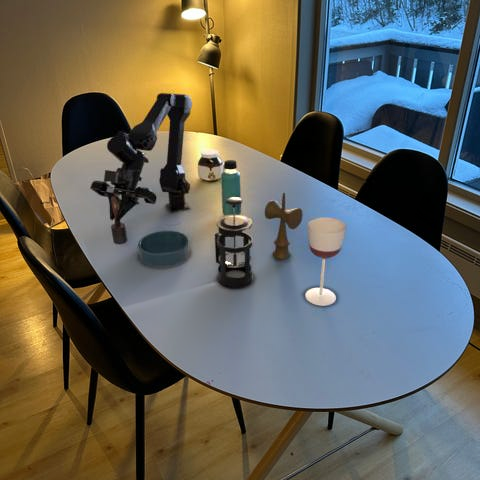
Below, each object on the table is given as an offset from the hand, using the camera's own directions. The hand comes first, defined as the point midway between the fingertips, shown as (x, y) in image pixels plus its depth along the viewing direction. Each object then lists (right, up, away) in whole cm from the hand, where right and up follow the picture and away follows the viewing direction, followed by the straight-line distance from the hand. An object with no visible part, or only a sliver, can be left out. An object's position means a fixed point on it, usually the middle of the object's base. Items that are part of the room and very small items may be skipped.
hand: (114, 220), depth 124 cm
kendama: (+47, -11, +4) cm, 48 cm away
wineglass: (+55, -19, -13) cm, 60 cm away
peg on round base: (+1, -6, +5) cm, 7 cm away
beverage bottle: (+32, +1, +28) cm, 43 cm away
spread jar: (+24, +18, +61) cm, 68 cm away
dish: (+13, -10, +6) cm, 17 cm away
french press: (+33, -16, -5) cm, 37 cm away
